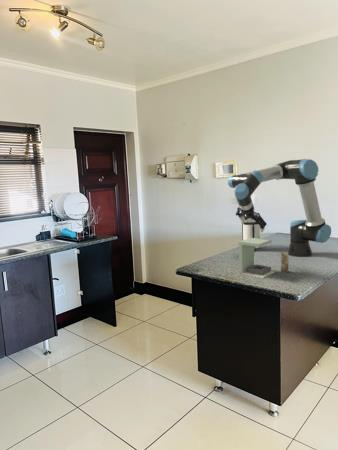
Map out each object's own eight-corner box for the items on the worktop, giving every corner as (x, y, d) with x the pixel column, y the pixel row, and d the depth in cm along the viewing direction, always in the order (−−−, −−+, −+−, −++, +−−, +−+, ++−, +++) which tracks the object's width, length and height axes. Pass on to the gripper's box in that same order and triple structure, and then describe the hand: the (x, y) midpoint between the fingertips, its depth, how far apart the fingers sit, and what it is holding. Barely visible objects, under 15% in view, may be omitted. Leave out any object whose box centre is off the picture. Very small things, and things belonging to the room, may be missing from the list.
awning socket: (274, 272, 194) (274, 240, 192) (262, 278, 185) (262, 244, 183) (251, 268, 205) (251, 237, 202) (239, 273, 196) (238, 241, 193)
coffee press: (265, 251, 245) (265, 209, 240) (242, 252, 245) (242, 210, 240) (259, 245, 262) (259, 206, 257) (238, 246, 262) (237, 207, 257)
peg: (288, 271, 196) (288, 252, 194) (288, 273, 192) (288, 253, 190) (280, 270, 197) (280, 252, 195) (281, 272, 193) (281, 253, 191)
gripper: (224, 203, 199) (233, 223, 215) (261, 218, 184) (267, 239, 200) (232, 193, 201) (239, 214, 217) (269, 208, 186) (274, 229, 202)
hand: (253, 226), depth 208 cm, fingers open, 13 cm apart
